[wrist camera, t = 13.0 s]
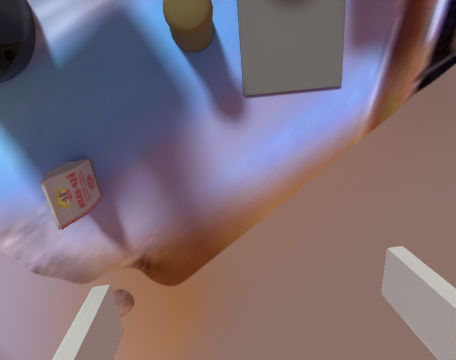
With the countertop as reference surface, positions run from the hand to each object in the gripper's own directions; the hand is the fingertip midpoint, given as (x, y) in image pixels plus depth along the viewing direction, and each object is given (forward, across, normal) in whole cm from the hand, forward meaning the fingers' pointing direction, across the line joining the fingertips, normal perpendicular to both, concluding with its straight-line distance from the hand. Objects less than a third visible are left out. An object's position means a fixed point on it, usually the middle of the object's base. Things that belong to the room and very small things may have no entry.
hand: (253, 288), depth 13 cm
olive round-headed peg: (+32, -2, +17) cm, 36 cm away
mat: (+32, +12, +15) cm, 37 cm away
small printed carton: (+32, -22, -3) cm, 39 cm away
